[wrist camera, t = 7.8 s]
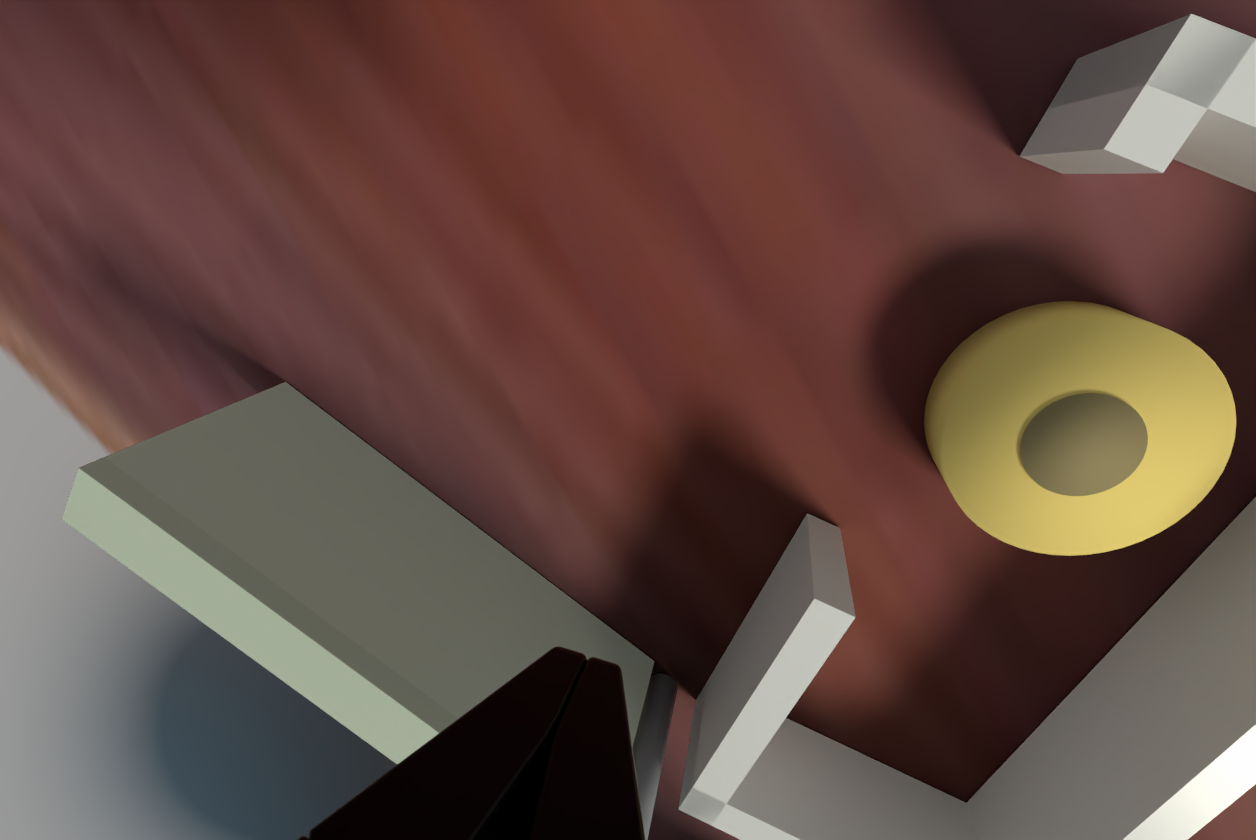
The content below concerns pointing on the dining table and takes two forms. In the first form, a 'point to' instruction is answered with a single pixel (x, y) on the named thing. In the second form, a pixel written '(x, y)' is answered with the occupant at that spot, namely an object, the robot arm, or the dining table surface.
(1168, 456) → the cord coil
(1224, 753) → the white open pen
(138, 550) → the cover
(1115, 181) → the dining table surface
